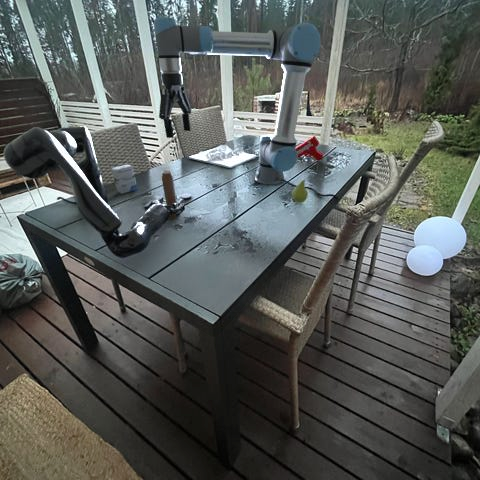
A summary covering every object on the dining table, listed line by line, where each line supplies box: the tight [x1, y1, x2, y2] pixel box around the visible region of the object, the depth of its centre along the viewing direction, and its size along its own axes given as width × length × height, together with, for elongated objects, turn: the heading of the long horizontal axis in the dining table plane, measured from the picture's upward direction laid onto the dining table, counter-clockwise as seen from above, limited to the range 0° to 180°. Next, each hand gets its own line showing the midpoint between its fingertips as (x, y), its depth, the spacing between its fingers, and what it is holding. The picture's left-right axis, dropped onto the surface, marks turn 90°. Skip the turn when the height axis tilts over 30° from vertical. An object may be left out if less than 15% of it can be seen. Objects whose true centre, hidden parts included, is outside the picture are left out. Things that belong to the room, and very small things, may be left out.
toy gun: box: [295, 135, 324, 163], centre depth 172 cm, size 18×4×15 cm
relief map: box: [188, 143, 257, 169], centre depth 179 cm, size 27×35×5 cm
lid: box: [179, 193, 192, 202], centre depth 125 cm, size 5×5×2 cm
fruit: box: [291, 174, 311, 204], centre depth 118 cm, size 7×8×12 cm
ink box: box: [110, 164, 138, 195], centre depth 131 cm, size 8×5×12 cm, turn 135°
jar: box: [161, 170, 179, 219], centre depth 106 cm, size 4×4×18 cm
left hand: (172, 199), depth 108 cm, fingers open, 8 cm apart
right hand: (179, 134), depth 110 cm, fingers open, 13 cm apart
